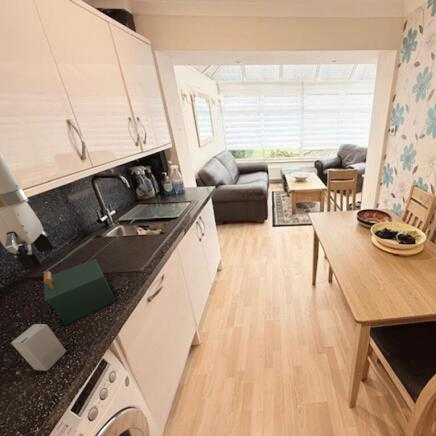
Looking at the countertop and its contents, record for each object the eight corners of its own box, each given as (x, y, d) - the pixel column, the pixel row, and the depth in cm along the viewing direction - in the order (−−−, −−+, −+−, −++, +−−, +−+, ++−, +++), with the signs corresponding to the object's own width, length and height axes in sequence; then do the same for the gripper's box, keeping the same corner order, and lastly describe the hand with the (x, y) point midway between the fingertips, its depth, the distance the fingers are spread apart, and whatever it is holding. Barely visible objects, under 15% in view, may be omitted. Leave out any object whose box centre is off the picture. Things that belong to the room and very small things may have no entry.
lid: (45, 302, 76) (37, 290, 74) (44, 279, 87) (37, 268, 85) (103, 278, 86) (98, 266, 83) (96, 260, 97) (91, 249, 94)
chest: (65, 325, 81) (49, 301, 76) (62, 300, 92) (47, 278, 88) (115, 300, 90) (104, 278, 86) (107, 281, 101) (96, 260, 97)
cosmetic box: (55, 351, 72) (33, 322, 67) (68, 351, 72) (47, 323, 67) (33, 371, 67) (8, 342, 61) (47, 372, 66) (23, 342, 61)
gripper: (-1, 193, 62) (34, 248, 70) (-42, 215, 49) (7, 281, 56) (37, 187, 66) (66, 240, 73) (8, 206, 52) (48, 270, 59)
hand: (40, 258), depth 64 cm, fingers open, 9 cm apart
